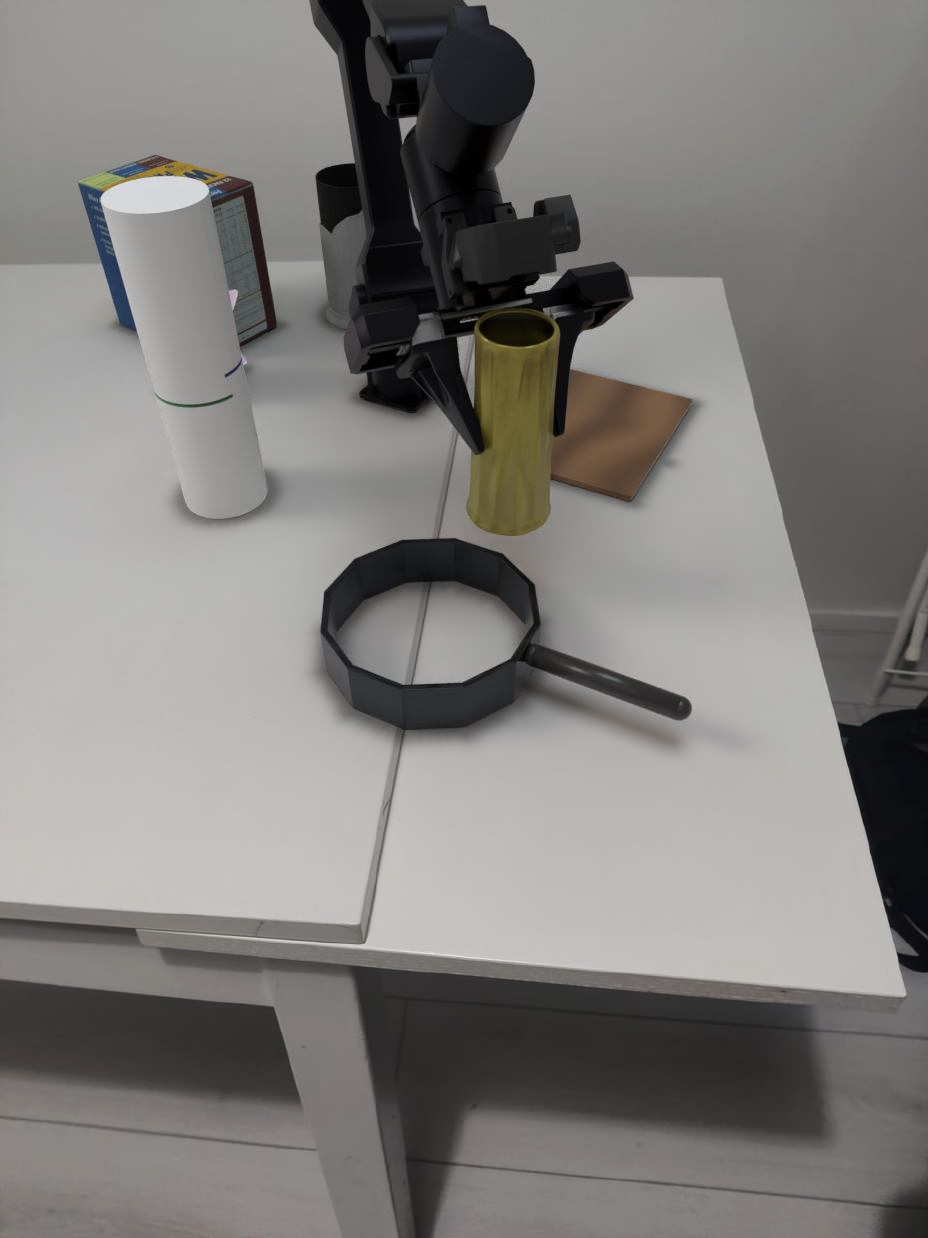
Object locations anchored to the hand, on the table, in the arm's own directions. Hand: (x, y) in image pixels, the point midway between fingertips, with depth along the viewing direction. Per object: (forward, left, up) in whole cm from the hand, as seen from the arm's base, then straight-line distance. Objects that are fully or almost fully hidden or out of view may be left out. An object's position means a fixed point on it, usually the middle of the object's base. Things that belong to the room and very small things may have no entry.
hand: (519, 444), depth 58 cm
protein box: (-51, +24, -14) cm, 58 cm away
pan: (+3, -8, -14) cm, 16 cm away
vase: (-1, +1, -7) cm, 7 cm away
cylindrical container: (-28, 0, -14) cm, 31 cm away
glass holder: (-38, +37, -14) cm, 55 cm away
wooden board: (-3, +24, -14) cm, 28 cm away
